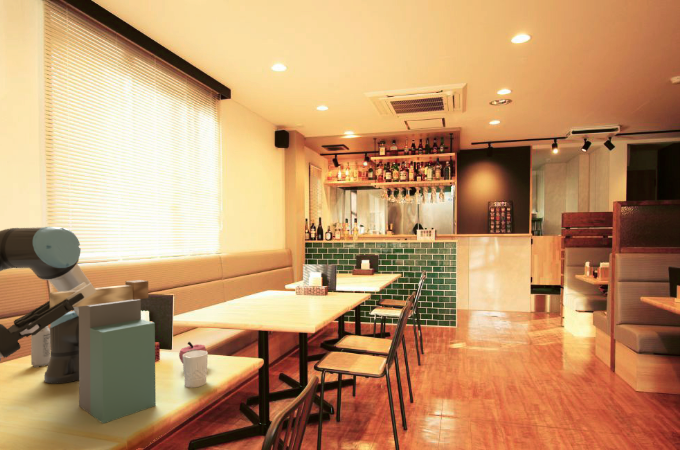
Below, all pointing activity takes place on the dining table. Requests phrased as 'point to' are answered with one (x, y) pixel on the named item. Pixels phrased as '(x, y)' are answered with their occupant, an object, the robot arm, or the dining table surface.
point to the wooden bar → (107, 294)
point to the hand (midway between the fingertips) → (90, 286)
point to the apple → (190, 349)
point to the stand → (115, 360)
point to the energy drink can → (40, 348)
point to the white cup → (195, 368)
